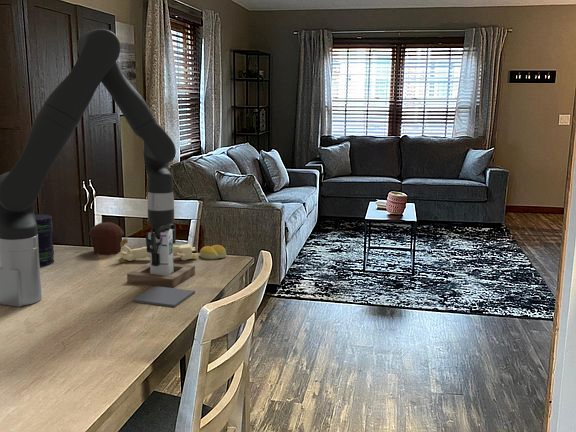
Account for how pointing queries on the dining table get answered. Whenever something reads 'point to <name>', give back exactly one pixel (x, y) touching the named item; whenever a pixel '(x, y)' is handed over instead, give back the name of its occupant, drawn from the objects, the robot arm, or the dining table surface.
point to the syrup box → (164, 255)
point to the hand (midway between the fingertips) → (161, 262)
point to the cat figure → (182, 251)
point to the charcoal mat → (164, 296)
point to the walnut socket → (161, 276)
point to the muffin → (106, 238)
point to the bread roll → (213, 252)
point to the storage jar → (45, 239)
